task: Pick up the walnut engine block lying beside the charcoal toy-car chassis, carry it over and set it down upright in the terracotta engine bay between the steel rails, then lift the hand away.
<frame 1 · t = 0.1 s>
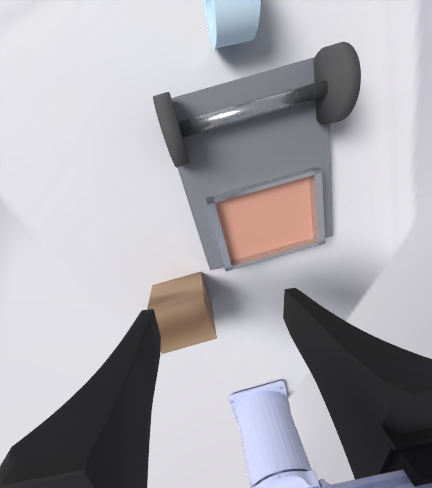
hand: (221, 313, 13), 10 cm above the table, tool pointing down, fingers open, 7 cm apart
chassis: (255, 177, 20), on the table
engine block: (182, 293, 24), on the table
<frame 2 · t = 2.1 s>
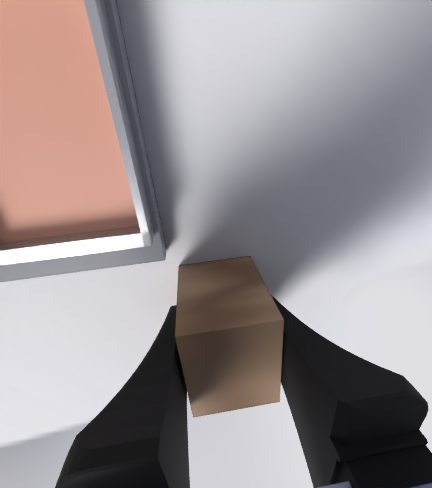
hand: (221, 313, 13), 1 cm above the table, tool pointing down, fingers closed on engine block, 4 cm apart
engine block: (218, 296, 14), on the table, touching gripper
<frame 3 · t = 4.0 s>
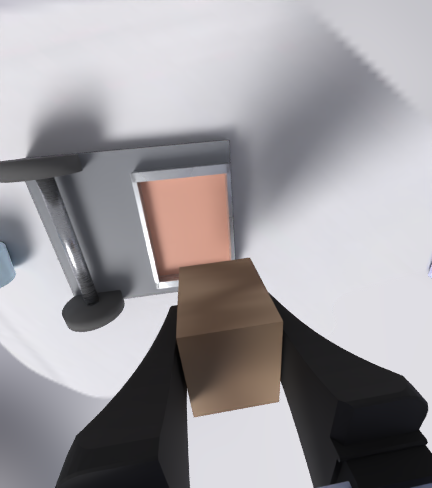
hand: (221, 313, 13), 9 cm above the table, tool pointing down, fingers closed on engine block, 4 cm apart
chassis: (146, 227, 19), on the table
engine block: (218, 297, 14), point 7 cm above the table, touching gripper
when the fingers open (4 cm above the table, at t = 5.9 s): engine block stays where it is, resting on chassis.
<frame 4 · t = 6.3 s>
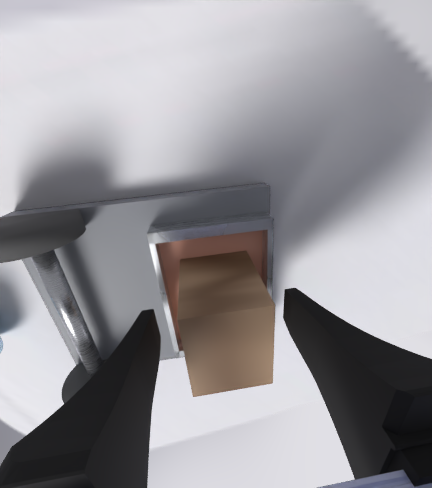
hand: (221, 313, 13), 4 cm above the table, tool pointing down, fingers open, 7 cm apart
chassis: (163, 284, 16), on the table
engine block: (216, 288, 15), point 1 cm above the table, touching chassis
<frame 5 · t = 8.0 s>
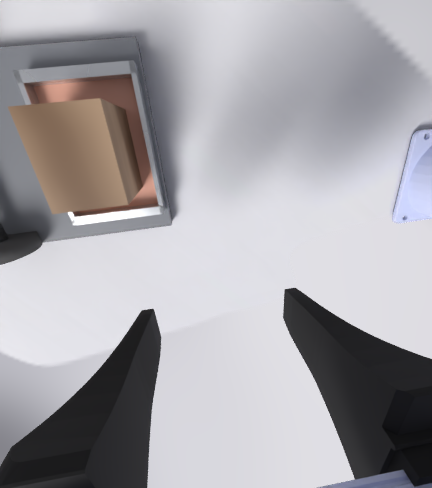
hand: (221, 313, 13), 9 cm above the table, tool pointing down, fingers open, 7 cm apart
chassis: (60, 156, 17), on the table
engine block: (105, 153, 16), point 1 cm above the table, touching chassis
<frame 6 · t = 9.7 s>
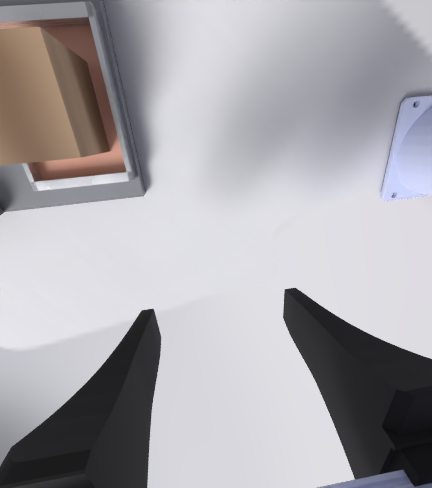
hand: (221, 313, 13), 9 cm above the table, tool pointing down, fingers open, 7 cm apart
chassis: (20, 116, 16), on the table
engine block: (67, 112, 15), point 1 cm above the table, touching chassis
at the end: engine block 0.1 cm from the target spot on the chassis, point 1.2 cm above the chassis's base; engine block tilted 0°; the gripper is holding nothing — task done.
